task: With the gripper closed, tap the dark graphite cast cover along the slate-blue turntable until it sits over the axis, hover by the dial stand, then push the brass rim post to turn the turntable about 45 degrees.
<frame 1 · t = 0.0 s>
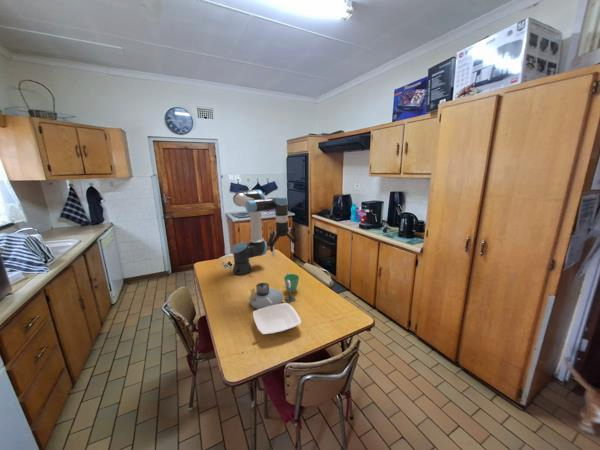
hand: (282, 254, 154), 28 cm above the table, fingers open, 13 cm apart
cover: (263, 292, 154), point 4 cm above the table, touching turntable
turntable: (265, 293, 149), point 7 cm above the table, hinge at 0.0°, touching cover
bowl: (276, 326, 129), on the table
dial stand: (290, 299, 153), on the table
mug: (290, 289, 167), on the table
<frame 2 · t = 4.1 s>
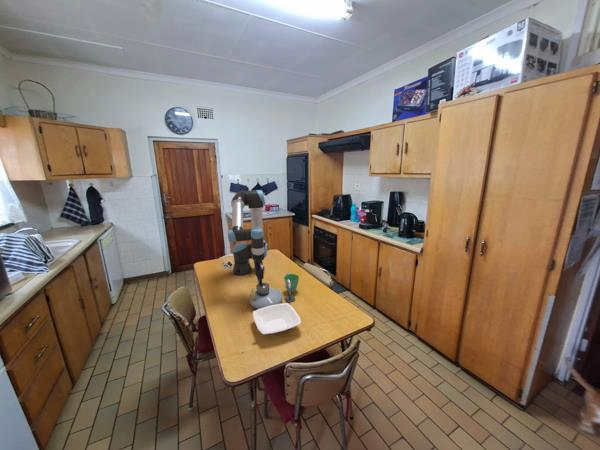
hand: (260, 287, 157), 6 cm above the table, fingers closed
cover: (263, 292, 154), point 4 cm above the table, touching gripper, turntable
everything else where it was.
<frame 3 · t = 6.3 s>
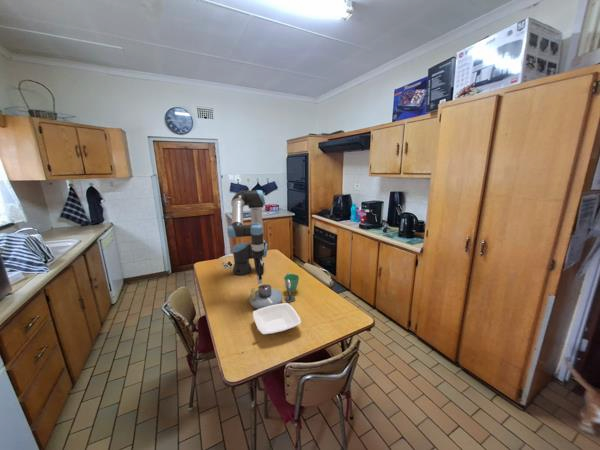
hand: (259, 283, 158), 8 cm above the table, fingers closed
cover: (265, 294, 151), point 4 cm above the table, touching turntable
everything else where it was.
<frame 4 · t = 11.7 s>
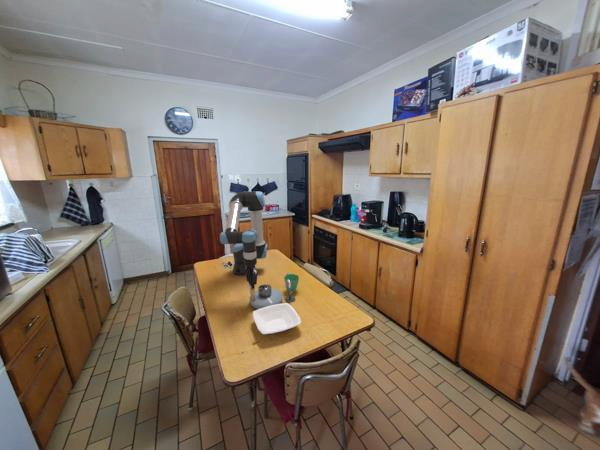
hand: (252, 293, 148), 7 cm above the table, fingers closed
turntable: (265, 293, 149), point 7 cm above the table, hinge at -0.1°, touching cover, gripper
everything else where it was.
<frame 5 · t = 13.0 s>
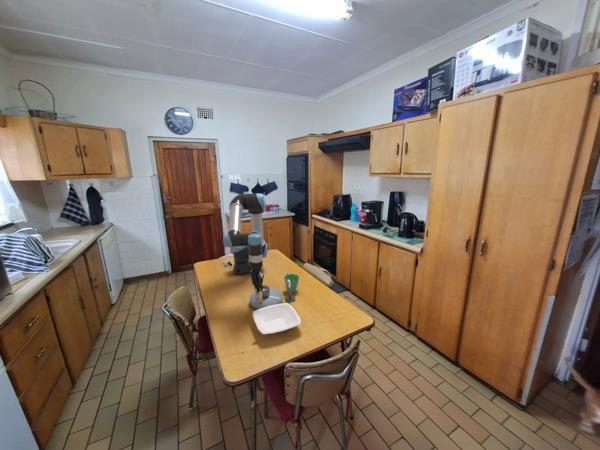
hand: (257, 297, 144), 7 cm above the table, fingers closed
cover: (263, 295, 150), point 4 cm above the table, touching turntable
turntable: (265, 293, 149), point 7 cm above the table, hinge at 43.8°, touching cover, gripper
everything else where it was.
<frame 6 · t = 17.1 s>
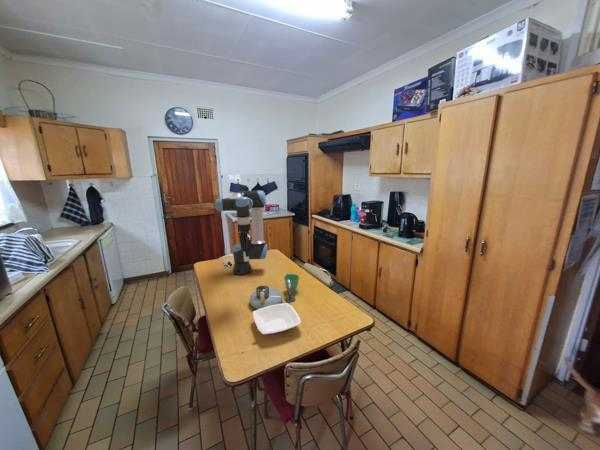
hand: (246, 260, 148), 26 cm above the table, fingers closed
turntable: (265, 293, 149), point 7 cm above the table, hinge at 53.5°, touching cover
everything else where it was.
at the end: cover 2.0 cm from the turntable (horizontally); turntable at +54° (first picture: +0°); cover tilted 0° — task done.
